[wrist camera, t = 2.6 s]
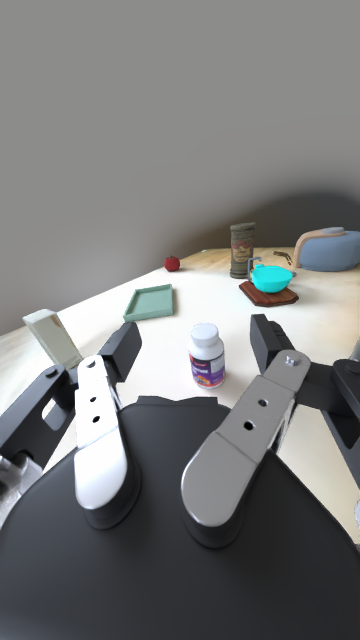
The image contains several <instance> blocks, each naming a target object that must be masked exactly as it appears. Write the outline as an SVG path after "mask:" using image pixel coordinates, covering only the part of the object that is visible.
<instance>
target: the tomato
mask: <svg viewBox="0 0 360 640" xmlns="http://www.w3.org/2000/svg"><path fill="white" fill-rule="evenodd" d="M164 266H165V268H166V269H167V270H168V271H176V270H178V269H179V267H180V261H179V260H178V258H176V257H172V256H171V257H170V258H166V260H165V262H164Z"/></svg>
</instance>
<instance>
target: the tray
mask: <svg viewBox="0 0 360 640" xmlns="http://www.w3.org/2000/svg"><path fill="white" fill-rule="evenodd" d="M166 315H173V297H172V285H171V284H168V285H162V286H156V287H150V288H144V289H138V290H135V292H134V294H133V296H132V298H131V300H130V303H129V305H128V307H127V309H126V311H125V313H124V316H123V317H124V320H125V322H129V321H135V320H141V319H148V318H154V317H160V316H166Z"/></svg>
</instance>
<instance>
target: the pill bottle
mask: <svg viewBox="0 0 360 640" xmlns="http://www.w3.org/2000/svg"><path fill="white" fill-rule="evenodd" d="M190 333H191V341H190V343H189V346H188V348H189V355H190V361H191V367H192V374H193V378H194V381H195V382H196V384H197V385H199V386H200V387H202V388H206V389H213V388H216V387H218V386H220V385H221V384H222V383H223V381H224V379H225V360H224V344H223V341H222V340H221V339H220V338H219V336H218V328H217V327H216V326H215V325H213V324H210V323H201V324H198V325H196V326H194V327H193V328H192V329H191V332H190Z"/></svg>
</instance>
